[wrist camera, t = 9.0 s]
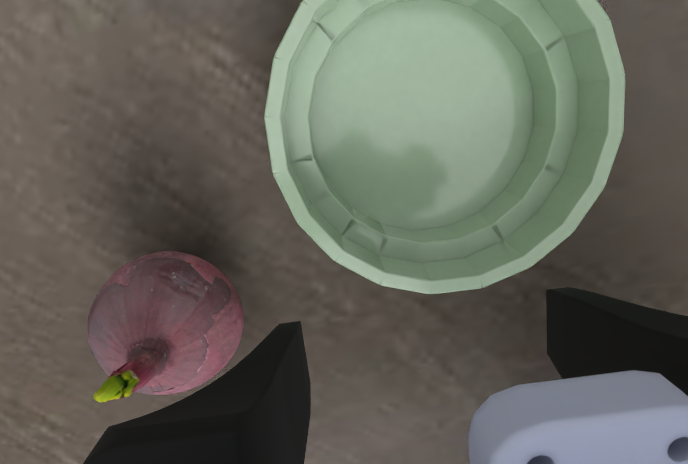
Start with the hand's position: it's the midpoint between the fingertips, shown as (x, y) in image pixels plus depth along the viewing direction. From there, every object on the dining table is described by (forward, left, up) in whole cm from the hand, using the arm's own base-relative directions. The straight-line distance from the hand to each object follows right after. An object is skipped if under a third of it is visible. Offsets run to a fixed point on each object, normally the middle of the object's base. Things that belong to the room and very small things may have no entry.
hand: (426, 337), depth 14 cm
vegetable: (-1, +10, -11) cm, 14 cm away
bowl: (+6, -2, -10) cm, 12 cm away
